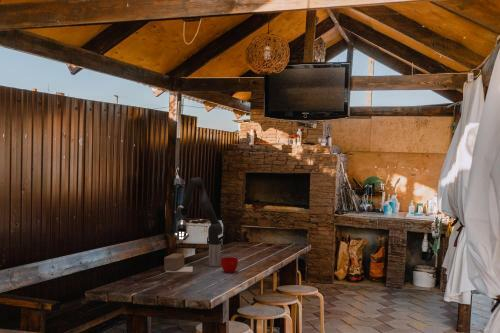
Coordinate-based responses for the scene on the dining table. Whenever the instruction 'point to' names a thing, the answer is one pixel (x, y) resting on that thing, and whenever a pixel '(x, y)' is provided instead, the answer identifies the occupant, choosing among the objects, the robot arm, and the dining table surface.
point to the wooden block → (174, 262)
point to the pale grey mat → (183, 269)
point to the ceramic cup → (229, 264)
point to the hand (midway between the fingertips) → (181, 243)
